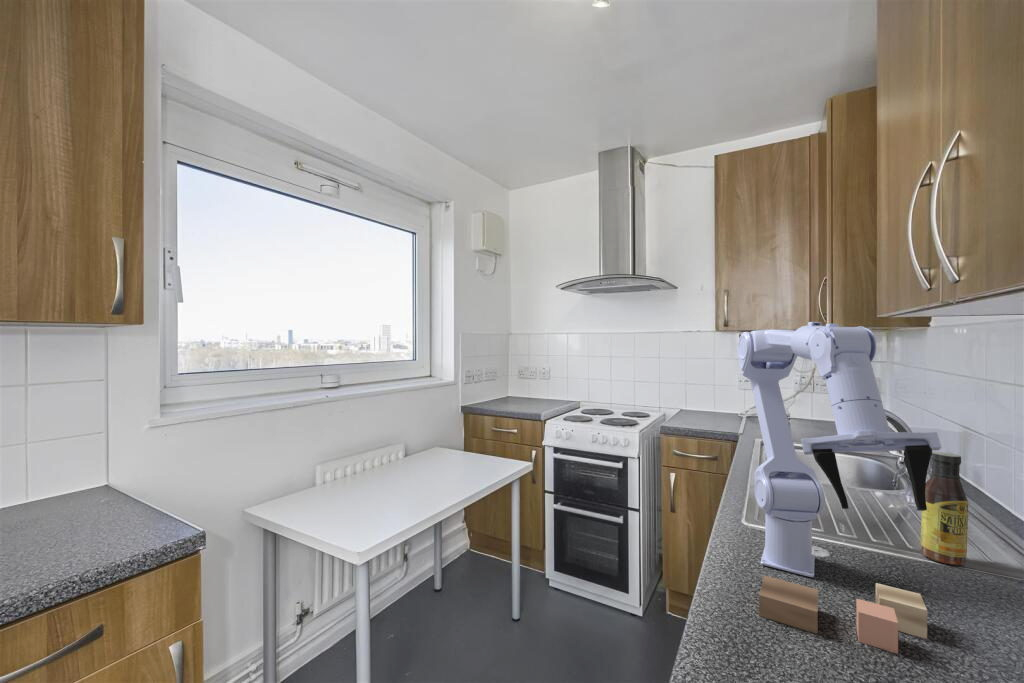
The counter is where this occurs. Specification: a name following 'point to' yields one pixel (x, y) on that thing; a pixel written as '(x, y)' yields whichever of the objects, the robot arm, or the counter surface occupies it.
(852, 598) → the counter surface
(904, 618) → the maple block
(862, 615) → the terracotta block
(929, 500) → the sauce bottle
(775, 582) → the walnut base
